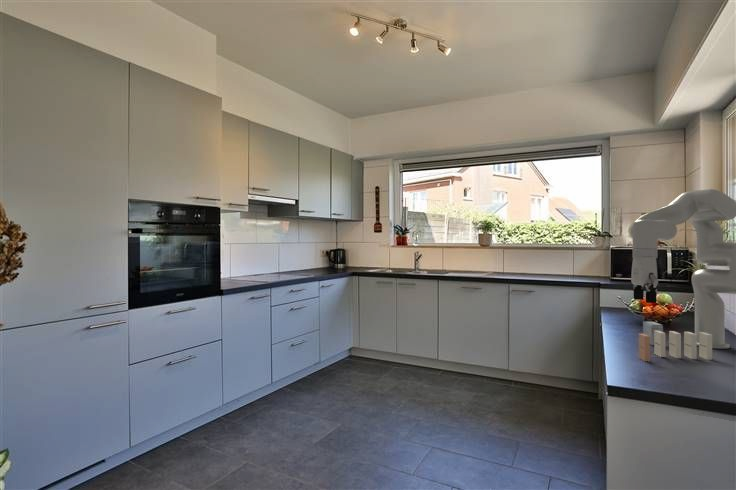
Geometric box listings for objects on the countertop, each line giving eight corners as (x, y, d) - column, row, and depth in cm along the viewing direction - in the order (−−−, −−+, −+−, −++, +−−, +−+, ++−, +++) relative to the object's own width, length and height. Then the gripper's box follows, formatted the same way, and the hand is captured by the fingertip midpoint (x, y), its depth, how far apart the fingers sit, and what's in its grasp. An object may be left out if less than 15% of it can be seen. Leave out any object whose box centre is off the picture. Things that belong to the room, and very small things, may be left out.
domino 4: (689, 355, 154) (688, 331, 154) (696, 359, 149) (696, 334, 149) (684, 355, 154) (684, 331, 154) (691, 358, 149) (691, 334, 149)
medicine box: (663, 346, 169) (663, 325, 169) (651, 345, 170) (651, 324, 170) (654, 341, 177) (654, 321, 177) (642, 341, 177) (642, 321, 177)
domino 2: (659, 354, 156) (659, 330, 156) (665, 357, 151) (665, 333, 151) (654, 354, 156) (654, 330, 156) (660, 357, 151) (660, 333, 151)
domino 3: (673, 355, 155) (673, 331, 155) (680, 358, 150) (680, 333, 150) (669, 354, 155) (669, 331, 155) (676, 358, 150) (675, 333, 150)
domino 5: (704, 356, 153) (704, 332, 153) (712, 359, 148) (712, 335, 148) (699, 356, 153) (699, 332, 153) (707, 359, 148) (707, 334, 148)
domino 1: (643, 358, 150) (643, 333, 150) (649, 361, 145) (649, 336, 146) (638, 357, 151) (638, 333, 151) (644, 361, 146) (644, 336, 146)
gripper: (623, 253, 158) (623, 298, 157) (644, 253, 141) (644, 303, 140) (645, 254, 156) (645, 298, 156) (668, 254, 139) (668, 304, 139)
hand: (644, 301), depth 148 cm, fingers open, 9 cm apart
